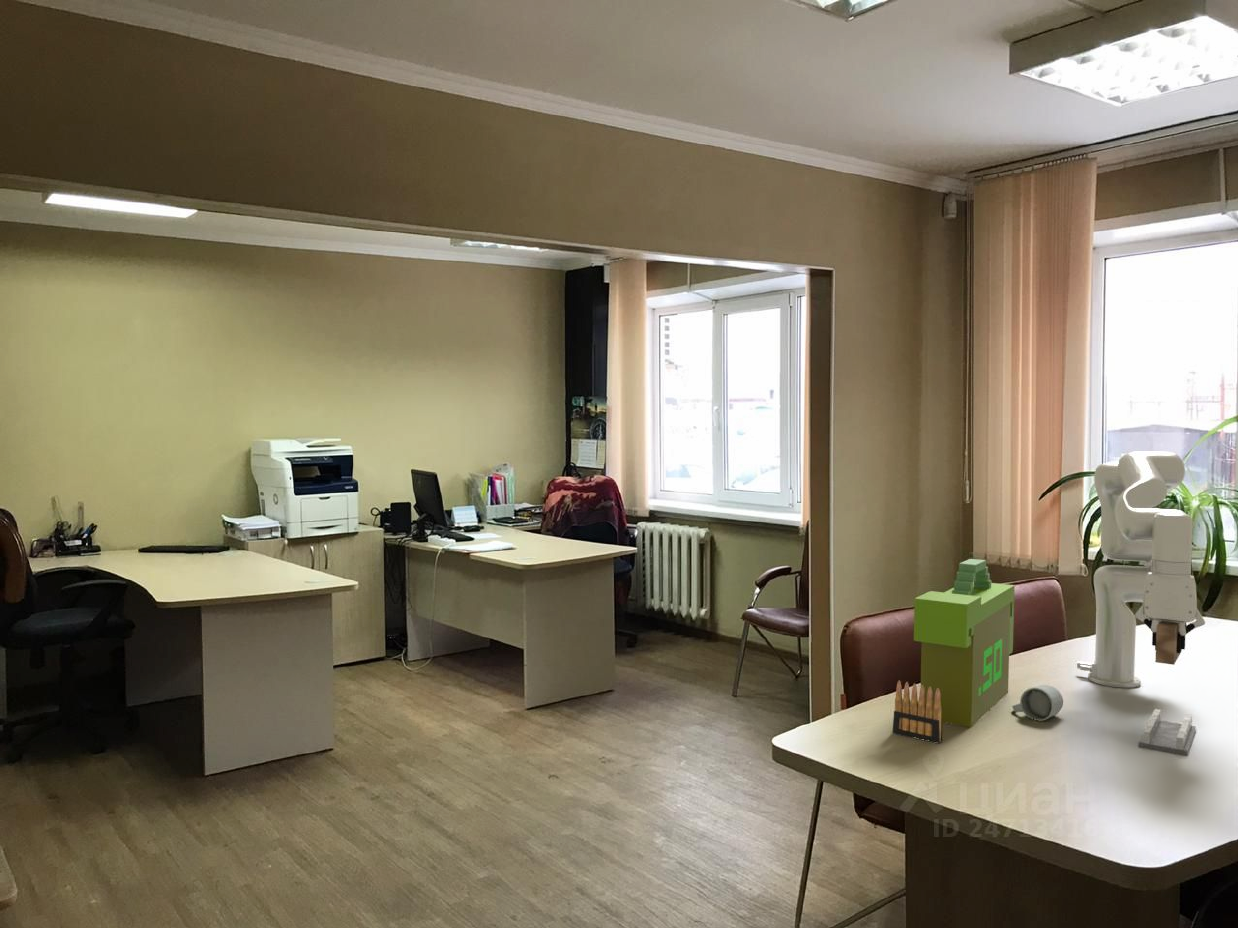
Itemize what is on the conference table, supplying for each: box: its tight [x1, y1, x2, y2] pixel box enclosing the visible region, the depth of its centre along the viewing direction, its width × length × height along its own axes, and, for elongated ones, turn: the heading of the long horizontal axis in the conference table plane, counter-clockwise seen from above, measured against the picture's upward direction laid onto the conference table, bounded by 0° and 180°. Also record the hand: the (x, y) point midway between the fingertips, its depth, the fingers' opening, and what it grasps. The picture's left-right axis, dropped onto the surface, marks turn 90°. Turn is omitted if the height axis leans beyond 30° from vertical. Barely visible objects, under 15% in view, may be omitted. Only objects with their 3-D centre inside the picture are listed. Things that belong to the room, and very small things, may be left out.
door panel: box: [1154, 620, 1181, 665], centre depth 209 cm, size 4×12×8 cm, turn 144°
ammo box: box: [913, 558, 1015, 728], centre depth 232 cm, size 45×12×35 cm, turn 145°
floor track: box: [1138, 708, 1197, 756], centre depth 209 cm, size 9×20×4 cm, turn 144°
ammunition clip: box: [892, 679, 943, 744], centre depth 209 cm, size 11×2×12 cm, turn 50°
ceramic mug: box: [1011, 684, 1064, 722], centre depth 225 cm, size 11×8×8 cm
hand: (1168, 649), depth 209 cm, fingers closed on door panel, 3 cm apart
